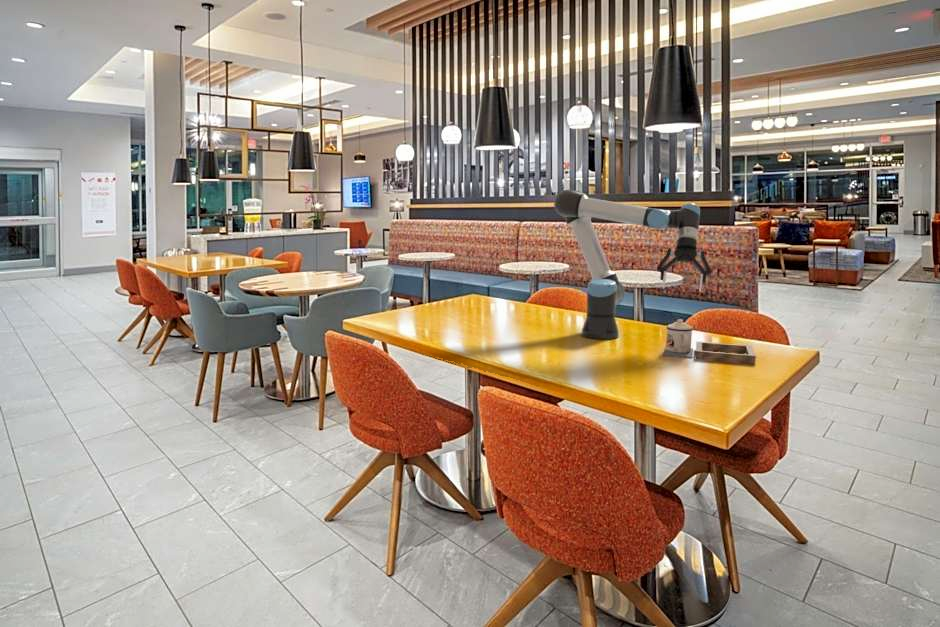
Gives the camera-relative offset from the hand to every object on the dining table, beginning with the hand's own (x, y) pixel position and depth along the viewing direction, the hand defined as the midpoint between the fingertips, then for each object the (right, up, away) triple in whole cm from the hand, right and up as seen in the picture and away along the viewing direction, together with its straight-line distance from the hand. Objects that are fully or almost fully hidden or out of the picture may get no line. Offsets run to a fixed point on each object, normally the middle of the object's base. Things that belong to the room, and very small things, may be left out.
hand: (681, 289), depth 228 cm
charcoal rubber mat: (-6, -24, -12) cm, 28 cm away
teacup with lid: (-5, -24, -12) cm, 27 cm away
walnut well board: (+9, -25, -18) cm, 32 cm away
